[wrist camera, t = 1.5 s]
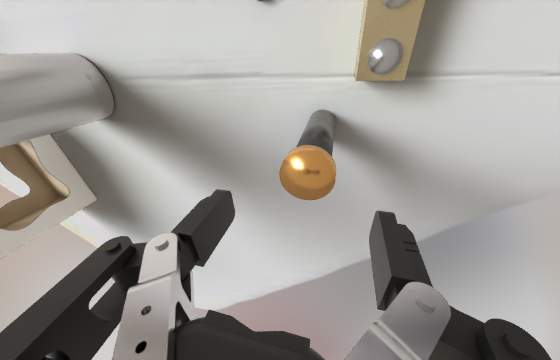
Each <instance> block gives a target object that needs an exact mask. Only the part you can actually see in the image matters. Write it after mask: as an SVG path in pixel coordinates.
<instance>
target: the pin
mask: <svg viewBox="0 0 560 360" xmlns="http://www.w3.org/2000/svg"><path fill="white" fill-rule="evenodd" d="M334 131H335V118H334V116H333V114H332V113H331V112H329V111H327V110H319V111H316V112H315V113H313V114H312V116H311V117H310V120H309V122H308V124H307V126H306V128H305V130H304V132H303V134H302V136H301V138H300V141H299V143H298V145H297V147H296V148H295V149H293V150H292V151H290V152H289V153H288V155H287V156H286V158H285V160H284V162H283V163H282V165H281V168H280V180H281V183H282V185H283V187H284V188H285V189H286V190H287V191H288V192H289V193H290V194H292V195H293V196H295V197H297V198H300V199H304V200H316V199H319V198H322V197H324V196H326V195H327V194H328V193H329V192H330V191H331V190H332V188H333V187H334V184H335V176H336V166H335V162H334V160H333V158H332V150H333V141H334Z"/></svg>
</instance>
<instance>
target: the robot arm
mask: <svg viewBox="0 0 560 360" xmlns="http://www.w3.org/2000/svg"><path fill="white" fill-rule="evenodd" d="M113 109H114V100H113V95H112V92H111V90H110V87H109V85H108V83H107V81H106V80H105V78H104V77H103V75H102V74H101V73H100V72H99V70H98V69H97V68H96V67H95V66H94V65H93V64H92V63H91V62H89V61H88V60H87V59H85V58H84V57H82V56H80V55H78V54H73V53H43V54H38V53H32V54H0V148H4V147H7V146H10V145H14V144H17V143H21V142H24V141H28V140H31V139H35V138H38V137H41V136H45V135H48V134H52V133H55V132H59V131H62V130H65V129H69V128H72V127H76V126H79V125H83V124H86V123H90V122H93V121H97V120H100V119H103V118H107V117H109V116H110V115H111V114H112V112H113ZM234 216H235V209H234V204H233V199H232V194H231V192H230V191H227V190H219V189H217V190H216V191H215V192H214V193H213V194H212V195H211V196H210V197H206V198H205V199H203V200H201V201H200V202H199V203H198V204H197V205H196V206H195V207H194V209H192V210H191V211H190V213H189V214H188V215H187V216H186V217H185V218H184V219H183V220H182V221H181V222H180V223H179V224H178V225H177V226H176V227H175V228H174V229H173V230H172V231H171V232H170V233H162V234H159V235H157V236H155V237H154V238H152V239H151V240H150V241H149V242H147V243H136V244H133V243H132V241H131V240H130V238H129V237H126V236H120V237H116V238H113V239H111V240H109V241H107V242H105V243H104V244H103V245H101V246H100V247H99V248H98V249H97V250H95V251H94V252H93V253H92V254H91V255H90V256H89V257H88V258H86V259H85V260H84V261H83V262H82V263H80V264H79V265H78V266H77V267H76V268H75V269H73V270H72V271H71V272H70V273H69V274H68V275H67V276H65V277H64V278H63V279H62V280H61V281H60V282H58V283H57V284H56V285H55V286H54V287H53V288H52V289H50V290H49V291H48V292H47V293H46V294H45V295H43V296H42V297H41V298H40V299H39V300H38V301H36V302H35V303H34V304H33V305H32V306H31V307H30V308H28V309H27V310H26V311H25V312H24V313H23V314H21V315H20V316H19V317H18V318H17V319H16V320H14V321H13V322H12V323H11V324H10V325H9V326H8V327H6V328H5V329H4V330H3V331H2V332H1V333H0V360H91V359H92V358H93V357H94V355H95V354H96V353H97V352H98V350H99V349H100V347H101V346H102V345H103V343H104V342H105V341H106V340H107V338H108V337H109V336H110V334H111V333H112V332H113V330H114V329H115V328H116V327H117V325H118V324H119V323H120V321H121V323H120V327H119V331H118V336H117V340H116V344H115V349H114V353H113V357H112V360H325V359H324V358H323V357H321V355H319V354H318V353H317V352H316V351H314V350H313V349H312V348H310V339H308V338H305V337H301V336H298V335H294V334H291V333H288V332H284V331H265V332H255V331H252V330H251V329H249V328H248V327H246V326H245V325H243V324H242V323H240V322H239V321H238V320H236V319H235V318H233V317H232V316H229V315H226V314H222V313H219V312H215V311H212V310H209V311H208V313H207V315H206V317H203V318H197V316H196V312H195V306H194V289H193V272H192V269H193V267H194V266H195V265H197V266H201V267H203V266H204V265H205V263H206V262H207V260H208V259H209V257H210V255H211V254H212V252H213V251H214V249H215V248H216V246H217V245H218V243H219V242H220V240H221V238H222V237H223V235H224V234H225V232H226V231H227V229H228V228H229V226H230V225H231V223H232V221H233V220H234ZM416 244H417V243H416V240H415V238H414V235H413V233H412V232H411V231H410V230H409V229H408V228H407V226H406V225H402V224H397V221H396V217H395V214H394V213H392V212H384V211H376V213H375V217H374V220H373V224H372V227H371V231H370V237H369V245H370V253H371V261H372V269H373V277H374V285H375V293H376V300H377V309H379V310H383V311H385V312H384V313H383V315H382V316H381V317H380V318H379V320H378V321H377V322H376V323H373V324H372V325H371V326H370V327H369V329H368V330H367V331H366V333H365V334H364V335H363V336H362V337H361V339H360V340H359V341H358V342H357V344H356V345H355V346H354V348H353V349H352V350H351V351H350V353H349V354H348V355H347V356H346V358H345V359H344V360H551V358H550V357H549V355H548V354H547V352H546V351H545V349H544V348H543V347H542V346H541V345H540V343H539V342H538V341H537V340H536V339H535V338H534V337H532V336H531V335H530V334H529V333H527V332H526V331H525V330H523V329H522V328H520V327H519V326H517V325H515V324H513V323H511V322H508V321H505V320H502V319H490V320H488V321H487V322H486V323H483V322H481V321H479V320H477V319H475V318H473V317H471V316H469V315H466V314H464V313H462V312H460V311H458V310H456V309H454V308H453V307H451V306H450V305H449V304H448V302H447V301H446V299H445V298H444V297H443V296H442V295H441V294H440V293H439V292H438V291H437V290H435V289H434V288H433V286H432V284H431V281H430V279H429V276H428V273H427V270H426V268H425V265H424V262H423V260H422V257H421V254H420V253H419V252H420V251H419V249H418V246H417V245H416ZM111 277H112V278H113V279H114V280H115V283H114V284H113V285H112V286H111V288H110V289H109V290H108V291H107V292H106V293H105V294H104V295H103V296H102V297H101V299H100V300H99V301H98V302H97V303H96V304H95V305H94V306H93V307H92V308H91V310H89V302H90V300H91V298H92V297H93V296H94V295H95V294H96V293H97V292H98V291H99V290H100V289H101V287H103V285H104V284H105V283H106V282H107V281H108V280H109V279H110V278H111Z"/></svg>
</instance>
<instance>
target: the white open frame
mask: <svg viewBox="0 0 560 360" xmlns="http://www.w3.org/2000/svg"><path fill="white" fill-rule="evenodd" d="M0 162H1V163H2V164H3V166H4V167H5V168H6V169H7V170H8V171H10V172H11V173H12V174H14V175H15V176H17V177H18V178H20V179H21V180H23V181H24V182H25V183H26V184H27V185H28V186H29V187H30V193H29V194H28V195H26V196H24V197H22V198H19V199H16V200H13V201H11V202H9V203H7V204H6V205H4V206H3V207H2V208H1V209H0V259H1V258H3V257H5V256H7V255H8V254H9V253H11V252H13V251H15V250H16V249H18V248H19V247H21V246H23V245H24V244H26V243H28V242H29V241H31V240H33V239H34V238H35V237H37V236H39V235H41V234H42V233H44V232H46V231H47V230H49V229H51V228H52V227H54V226H55V225H57V224H59V223H60V222H62V221H64V220H65V219H67V218H68V217H70V216H72V215H73V214H75V213H77V212H78V211H80V210H81V209H83V208H85V207H86V206H88V205H90V204H91V203H93V202H94V201H96V200H97V198H96V197H95V195H94V194H93V193H92V191H91V190H90V189H89V187H88V186H87V184H86V183H85V182H84V180H83V179H82V178H81V176H80V175H79V173H78V172H77V171H76V169H75V168H74V167H73V165H72V164H71V162H70V161H69V160H68V158H67V157H66V156H65V154H64V153H63V151H62V150H61V149H60V147H59V146H58V145H57V143H56V142H55V140H54V139H53V138H52V136H51V135H50V134H48V135H45V136H41V137H38V138H35V139H31V140H28V141H24V142H21V143H17V144H14V145H10V146H7V147H4V148H0Z"/></svg>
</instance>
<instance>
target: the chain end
mask: <svg viewBox="0 0 560 360" xmlns="http://www.w3.org/2000/svg"><path fill="white" fill-rule="evenodd" d="M424 4H425V0H365V2H364V9H363V16H362V23H361V30H360V37H359V45H358V52H357V59H356V66H355V73H354V77H355V80H356V81H397V80H405V77H406V73H407V69H408V65H409V61H410V58H411V54H412V50H413V46H414V42H415V38H416V35H417V31H418V27H419V23H420V19H421V16H422V12H423V8H424Z"/></svg>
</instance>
